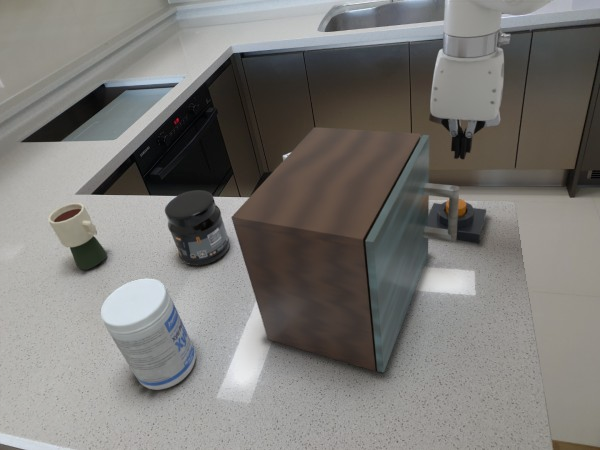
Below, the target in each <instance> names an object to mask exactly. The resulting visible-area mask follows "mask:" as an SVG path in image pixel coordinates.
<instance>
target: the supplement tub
mask: <svg viewBox="0 0 600 450" xmlns="http://www.w3.org/2000/svg"><path fill="white" fill-rule="evenodd" d="M100 317H101V319H102V321H103V324H104V327H105V329H106V330H107V332H108V333H109V335H110V337H111V338H112V340H113V341H114V343H115V345H116V347H117V349H118V350H119V352H120V353H121V356H123V358H124V360H125V362H126V363H127V365H128V366H129V368H130V370H131V371H132V374H133V375H134V376H135V378H136V380H137V381H138V382H139V384H141V386H143V387H145V388H146V389H150V390H155V391H158V390H165V389H166V390H167V389H169V388H172V387H173V386H176V385H177V384H179V383H180V382H182V381H183V380H184V379H185V378H186V377H187V376H188V375H189V374H190V373H191V371H192V370H193V368H194V365H195V363H196V357H197V353H196V348H195V347H194V344H193V341H192V340H191V338H190V336H189V334H188V331H187V329H186V326H185V324H184V323H183V320H182V318H181V316H180V313H179V311H178V309H177V308H176V305H175V303H174V300H173V298H172V296H171V294H170V292H169V291H168V289H167V288H166V286H165V285H164V283H162V281H160V280H158V279H156V278H146V277H145V278H139V279H135V280H132V281H128V282H126V283H125V284H122V285H121V286H119V287H117V288H116V289H115V290H113V291H112V292H111V293H110V294H109V295H108V296H107V298H106V299H105V300H104V302H103V303H102V306H101V309H100Z"/></svg>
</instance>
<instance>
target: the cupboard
mask: <svg viewBox="0 0 600 450" xmlns="http://www.w3.org/2000/svg"><path fill="white" fill-rule="evenodd" d="M421 137H422V133H417V132H401V131H400V132H399V131H383V130H368V129H367V130H365V129H352V128H351V129H350V128H335V127H334V128H333V127H331V128H330V127H316V126H315V127H313V128H312V130H310V132H308V133H307V135H306V136H305V137H304V138H303V139H301V141H300V142H299V143H298V144H297V146H296V147H294V148H293V150H292V151H291V152H289V153H290V154H289V155H288V156H287V158H286V159H285V160H284V161H282V162H280V164H279V165H278V166H277V167H276V168H275V169H274V170H273V171H272V172H271V174H270V175H269V176H268V177H267V178H266V179H265V180H264V181H263V182H262V183H261V185H260V186H259V187H258V188H257V189H256V190H255V191H254V192H253V193H252V194H250V196H249V197H248V198H247V200H246V201H245V202H244V203H243V204H242V205H241V206H240V207H239V208H238V209H237V210H236V211H235V213H233V215H232V216H230V217H231V221H232V224H233V228H234V231H235V234H236V238H237V242H238V245H239V248H240V251H241V254H242V257H243V262H244V265H245V268H246V271H247V275H248V278H249V282H250V284H251V288H252V291H253V294H254V298H255V302H256V304H257V308H258V311H259V314H260V318H261V321H262V325H263V327H264V331H265V334H266V337H267V340H269V341H272V342H275V343H279V344H282V345H285V346H289V347H292V348H296V349H299V350H302V351H305V352H309V353H312V354H316V355H319V356H323V357H326V358H329V359H333V360H336V361H339V362H343V363H346V364H350V365H353V366H357V367H359V368H363V369H366V370H369V371H373V372H376V371H377V362H376V351H375V340H374V329H373V319H372V308H371V297H370V286H369V275H368V264H367V254H366V243H365V240H366V239H367V237H368V235H369V233H370V231H371V229H372V228H373V226H374V224H375V222H376V220H377V218H378V217H379V215H380V213H381V211H382V209H383V207H384V205H385V204H386V202H387V200H388V198H389V196H390V194H391V193H392V191H393V189H394V187H395V185H396V183H397V182H398V180H399V178H400V176H401V174H402V172H403V171H404V169H405V167H406V165H407V163H408V161H409V159H410V158H411V156H412V154H413V152H414V150H415V148H416V147H417V145H418V143H419V141H420V139H421Z"/></svg>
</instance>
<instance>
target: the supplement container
mask: <svg viewBox="0 0 600 450" xmlns="http://www.w3.org/2000/svg"><path fill="white" fill-rule="evenodd" d="M164 214H165V216H166V218H167V229H168V231H169V233H170V234H171V236H172V239H173V242H174V244H175V246H176V249H177V251H178V255H179V257H180V260H182V261H183V262H184V263H186V264H188V265H191V266H204V265H208V264H211V263H214V262H216V261H217V260H219V259H220V258H222V257H223V256H224V255H225V254H226V253H227V251H228V250H229V247H230V238H229V235H228V233H227V230H226V226H225V224H224V220H223V217H222V211H221V209H220V208H219V206H218V205H217V204H216V201H215V198H214V196H213V194H211V193H210V192H209V191H207V190H200V189H199V190H197V189H196V190H189V191H186V192H182V193H180V194H178V195H176V196H174V197H172V198H171V200H169V201H168V202H167V204H166V205H165V207H164Z"/></svg>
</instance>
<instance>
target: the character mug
mask: <svg viewBox="0 0 600 450" xmlns="http://www.w3.org/2000/svg"><path fill="white" fill-rule="evenodd" d="M47 221H48V223H49V225H50V227H51V228H52V230H53V232H54V233H55V235H56V237H57V239H58V240H59V241H60V243H61V245H62V247H65V248H69V249H70V252H71V256H72V258H73V260H74V263H75V264H76V267H77V268H78V269H79V270H84V271H85V270H89V269H92V268H94V267H96V266H97V265H99V264H101V263H102V262H103V261H104V260H105V259H106V258H107V257H108V253H107V251H106V250H105V248H104V247H103V246H102V244H101V242H100V241H99V240H98V239H97V237H95V236H96V235H98V230H97V229H96V228H97V227H96V225H95V224H94V223H93V221H92V219H91V215H90V214H89V212H88V211H87V209H86V206H84V204H83V203H82V202H69V203H66V204H64V205H62V206H60V207H57V208H56V209H54V210H53V211H52V212H51V213H49V215H48V217H47Z"/></svg>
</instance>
